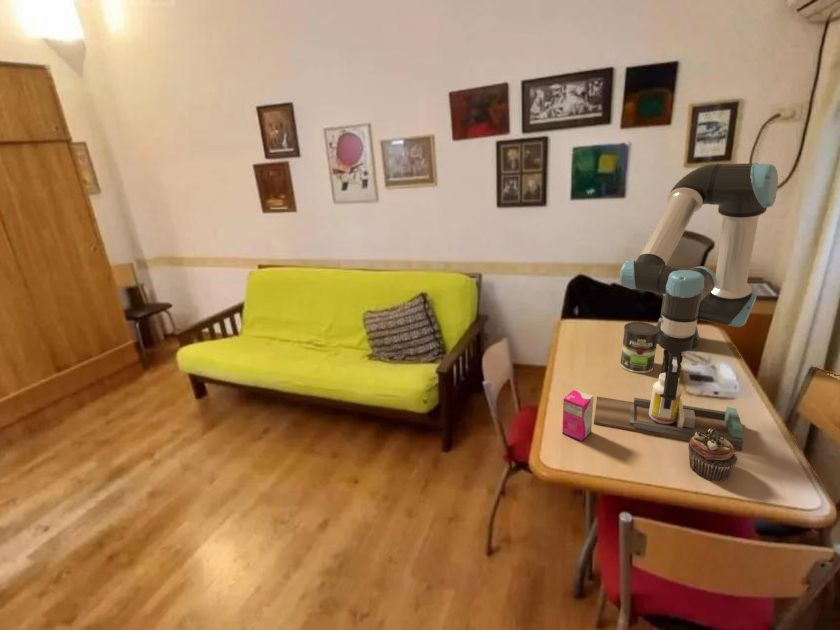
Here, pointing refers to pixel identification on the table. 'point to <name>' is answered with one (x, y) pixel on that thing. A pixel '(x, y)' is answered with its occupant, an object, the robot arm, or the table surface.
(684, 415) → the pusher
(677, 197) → the robot arm
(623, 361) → the coffee can
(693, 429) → the dispenser stand
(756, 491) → the table surface
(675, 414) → the supplement bottle
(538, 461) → the table surface
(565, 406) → the supplement box
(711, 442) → the cupcake
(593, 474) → the table surface
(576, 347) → the table surface
